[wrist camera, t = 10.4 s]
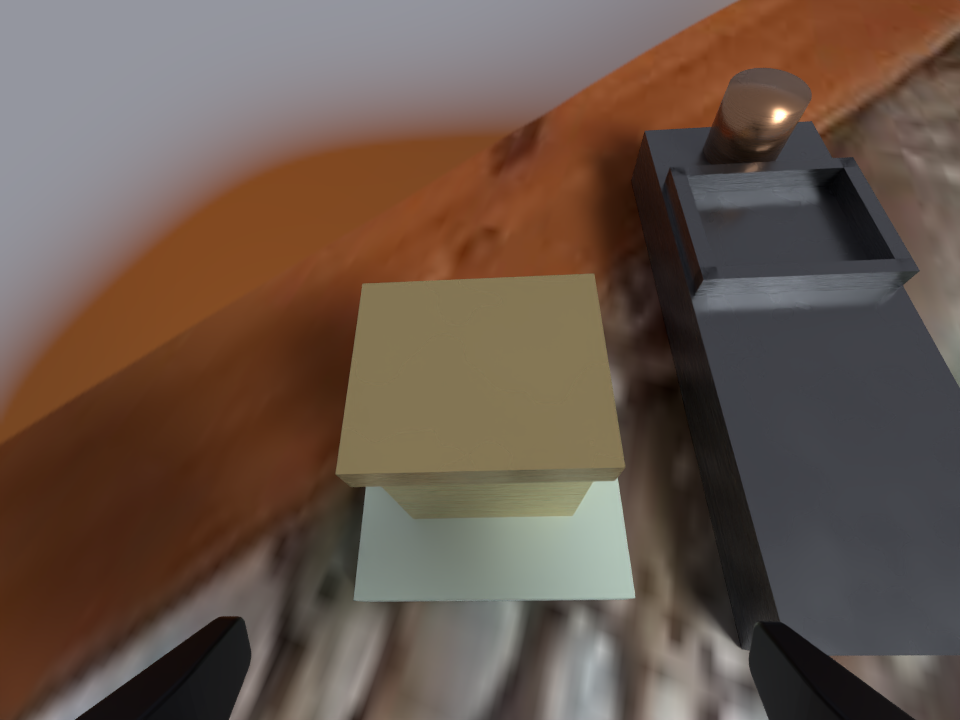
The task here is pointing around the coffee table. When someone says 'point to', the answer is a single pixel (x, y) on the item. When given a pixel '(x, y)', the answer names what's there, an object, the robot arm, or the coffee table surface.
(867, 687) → the robot arm
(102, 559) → the coffee table surface
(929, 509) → the plane body
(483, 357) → the lever cap
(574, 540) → the sage mat
